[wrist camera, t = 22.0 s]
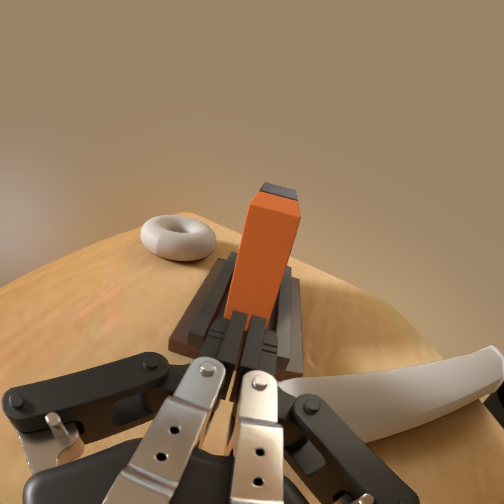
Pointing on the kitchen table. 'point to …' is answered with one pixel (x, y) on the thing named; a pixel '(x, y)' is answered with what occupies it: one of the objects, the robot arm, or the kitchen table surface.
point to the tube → (404, 392)
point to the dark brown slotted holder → (281, 321)
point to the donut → (178, 238)
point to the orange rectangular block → (262, 255)
